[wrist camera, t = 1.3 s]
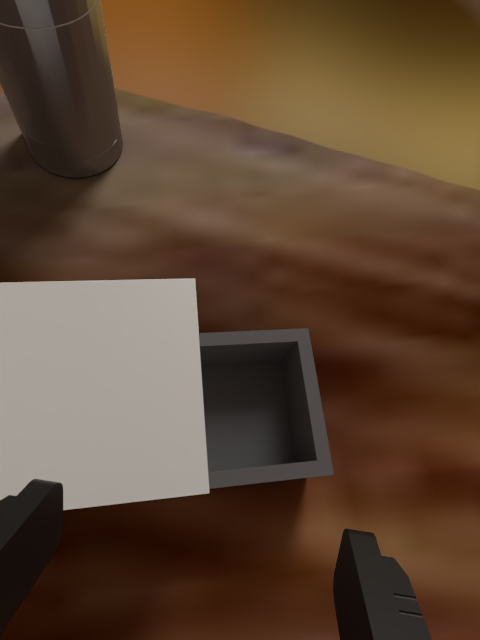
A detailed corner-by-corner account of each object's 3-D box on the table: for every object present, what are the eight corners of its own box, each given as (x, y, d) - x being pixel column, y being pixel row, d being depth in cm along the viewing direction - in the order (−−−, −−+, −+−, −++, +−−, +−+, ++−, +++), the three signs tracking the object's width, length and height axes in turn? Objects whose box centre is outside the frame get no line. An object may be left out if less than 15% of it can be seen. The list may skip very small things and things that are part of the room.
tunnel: (52, 365, 32) (-34, 283, 19) (187, 357, 34) (195, 278, 21) (42, 505, 28) (-76, 526, 15) (195, 488, 30) (209, 493, 17)
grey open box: (187, 357, 34) (190, 333, 29) (288, 351, 36) (308, 328, 30) (195, 488, 30) (199, 489, 25) (306, 475, 32) (333, 474, 26)
